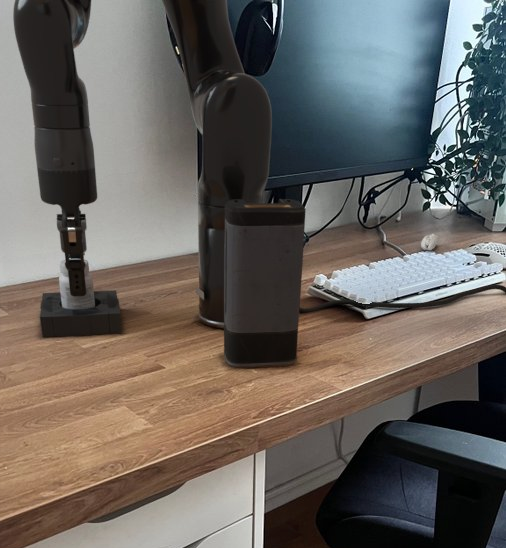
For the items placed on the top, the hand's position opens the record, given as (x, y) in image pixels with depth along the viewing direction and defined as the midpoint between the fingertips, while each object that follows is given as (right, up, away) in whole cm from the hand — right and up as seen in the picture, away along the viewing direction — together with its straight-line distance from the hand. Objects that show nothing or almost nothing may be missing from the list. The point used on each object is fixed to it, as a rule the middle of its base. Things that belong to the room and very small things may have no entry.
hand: (78, 289), depth 100 cm
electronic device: (+26, -11, -8) cm, 30 cm away
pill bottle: (0, -4, +2) cm, 5 cm away
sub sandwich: (+63, +20, +48) cm, 82 cm away
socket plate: (0, -4, +3) cm, 5 cm away
